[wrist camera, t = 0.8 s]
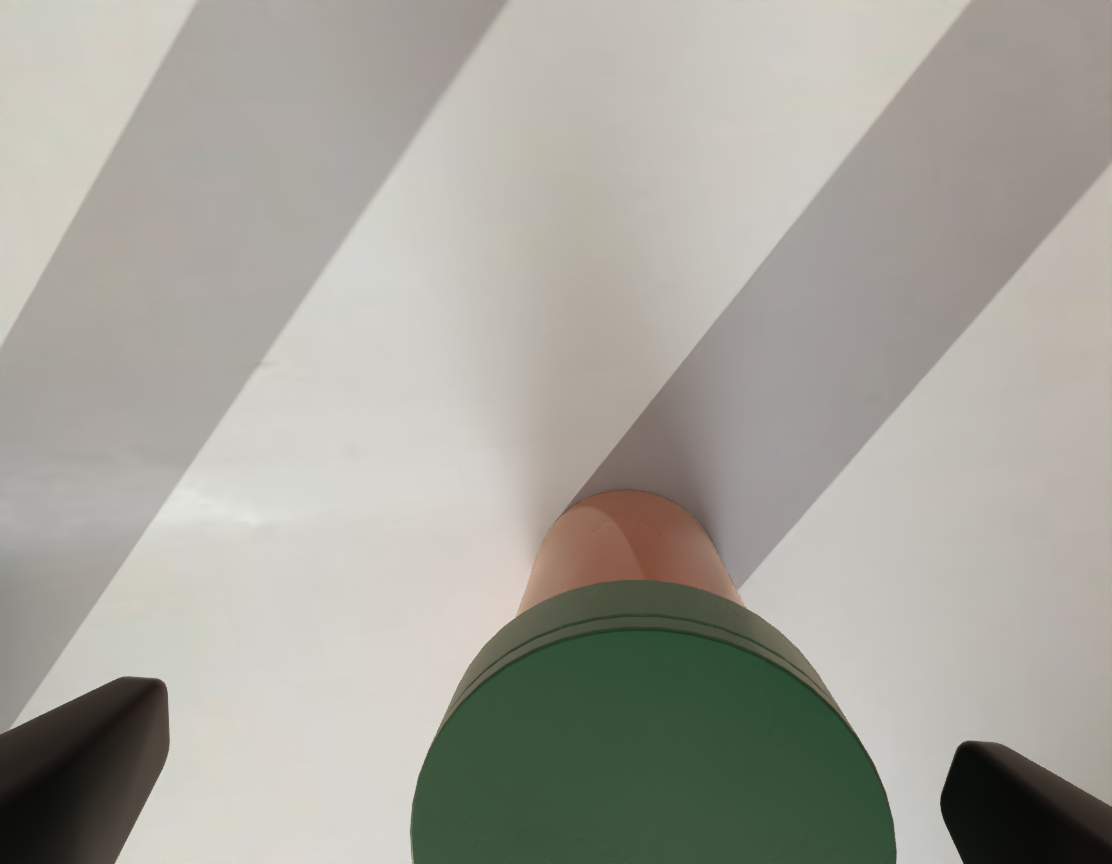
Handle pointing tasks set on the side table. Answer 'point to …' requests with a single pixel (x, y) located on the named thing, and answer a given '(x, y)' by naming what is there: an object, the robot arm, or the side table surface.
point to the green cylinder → (646, 743)
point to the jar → (626, 548)
